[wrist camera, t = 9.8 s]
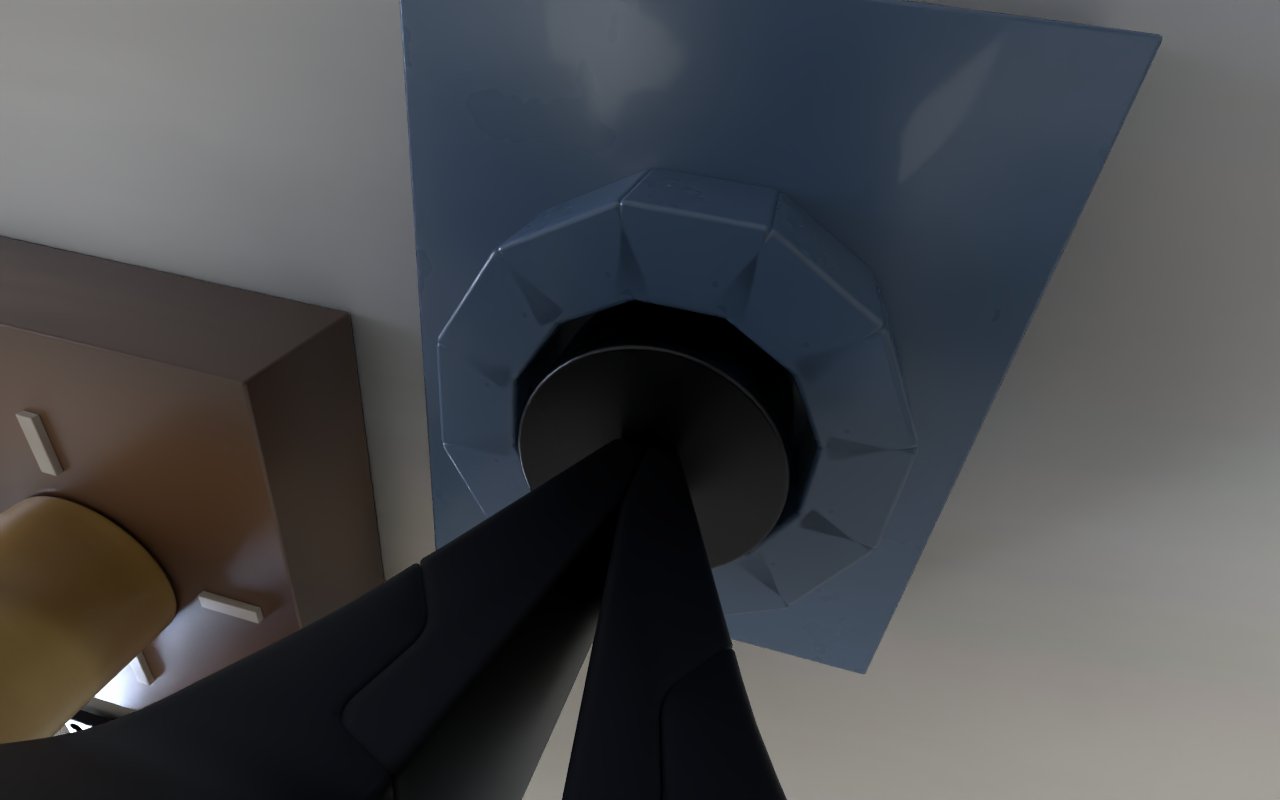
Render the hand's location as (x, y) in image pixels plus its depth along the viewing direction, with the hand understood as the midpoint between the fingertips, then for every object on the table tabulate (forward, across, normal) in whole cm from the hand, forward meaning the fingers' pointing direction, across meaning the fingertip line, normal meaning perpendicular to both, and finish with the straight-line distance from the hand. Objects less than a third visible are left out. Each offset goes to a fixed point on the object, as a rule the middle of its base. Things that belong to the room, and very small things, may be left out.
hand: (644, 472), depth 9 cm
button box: (+4, 0, 0) cm, 4 cm away
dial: (+1, +12, +7) cm, 14 cm away
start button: (+2, 0, 0) cm, 2 cm away
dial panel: (+4, +12, +7) cm, 14 cm away
